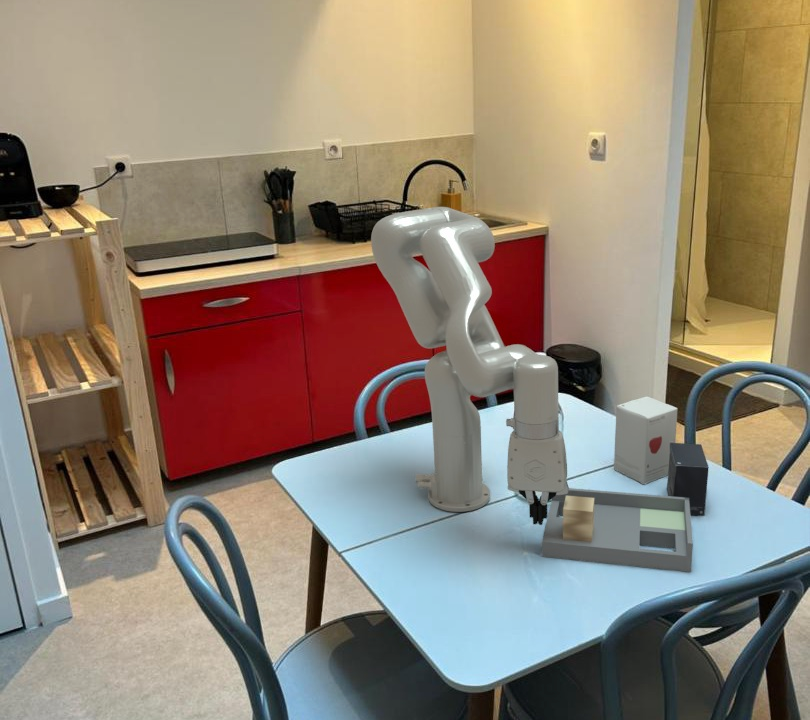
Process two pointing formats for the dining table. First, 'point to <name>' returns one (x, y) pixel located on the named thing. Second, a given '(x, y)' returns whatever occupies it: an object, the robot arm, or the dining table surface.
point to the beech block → (578, 518)
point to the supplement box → (644, 438)
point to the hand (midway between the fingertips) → (538, 520)
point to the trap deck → (626, 530)
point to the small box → (688, 475)
